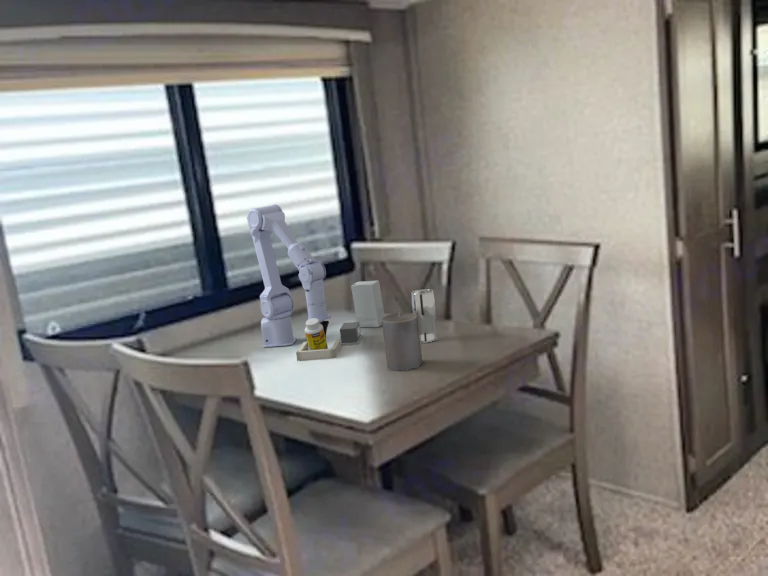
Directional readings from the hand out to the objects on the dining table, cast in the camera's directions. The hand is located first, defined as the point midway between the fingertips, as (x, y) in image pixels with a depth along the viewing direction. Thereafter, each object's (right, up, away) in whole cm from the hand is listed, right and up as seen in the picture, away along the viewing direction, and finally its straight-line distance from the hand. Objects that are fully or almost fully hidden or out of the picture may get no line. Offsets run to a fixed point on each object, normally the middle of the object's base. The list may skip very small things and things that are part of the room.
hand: (321, 345), depth 235 cm
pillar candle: (+25, -4, -25) cm, 35 cm away
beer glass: (+32, +2, -2) cm, 32 cm away
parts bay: (0, -2, -3) cm, 4 cm away
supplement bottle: (0, -1, -3) cm, 4 cm away
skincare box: (+15, +5, +24) cm, 28 cm away
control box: (+9, +1, +6) cm, 11 cm away
